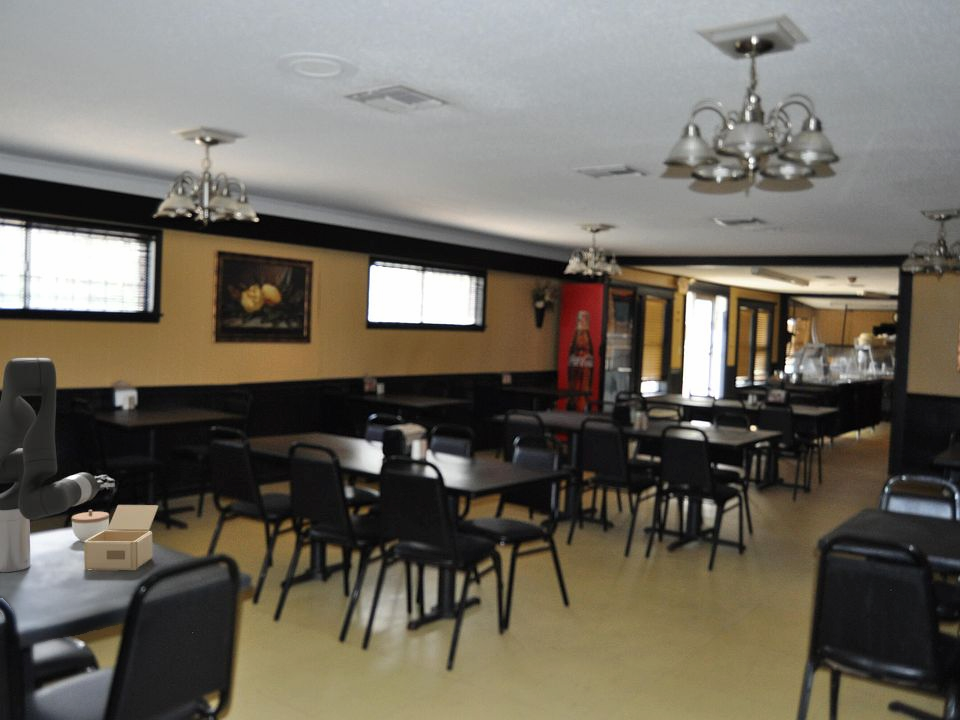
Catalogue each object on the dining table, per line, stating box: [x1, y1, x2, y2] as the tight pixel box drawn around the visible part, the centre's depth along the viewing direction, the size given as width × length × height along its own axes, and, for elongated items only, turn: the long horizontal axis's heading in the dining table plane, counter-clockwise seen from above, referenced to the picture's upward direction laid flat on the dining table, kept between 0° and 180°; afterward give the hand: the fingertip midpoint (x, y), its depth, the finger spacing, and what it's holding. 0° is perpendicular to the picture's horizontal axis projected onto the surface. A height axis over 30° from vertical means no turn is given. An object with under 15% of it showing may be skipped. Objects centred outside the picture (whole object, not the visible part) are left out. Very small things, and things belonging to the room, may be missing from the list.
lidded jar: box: [71, 509, 110, 543], centre depth 269 cm, size 11×11×9 cm
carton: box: [83, 530, 153, 571], centre depth 243 cm, size 15×13×8 cm
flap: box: [107, 504, 159, 531], centre depth 253 cm, size 12×1×9 cm
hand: (104, 478), depth 236 cm, fingers closed
